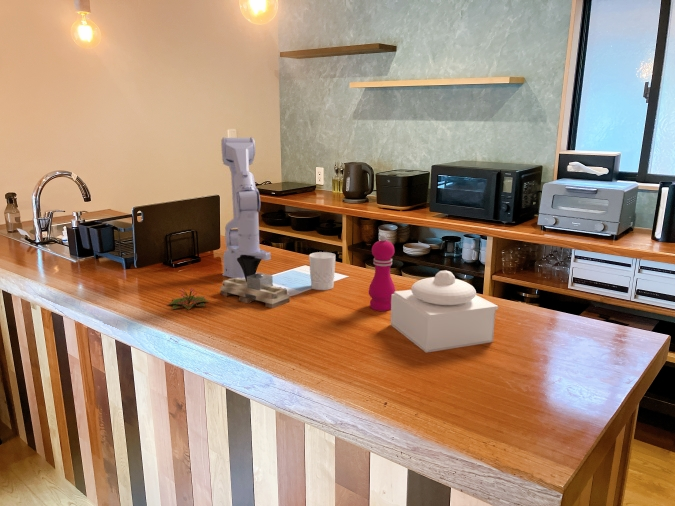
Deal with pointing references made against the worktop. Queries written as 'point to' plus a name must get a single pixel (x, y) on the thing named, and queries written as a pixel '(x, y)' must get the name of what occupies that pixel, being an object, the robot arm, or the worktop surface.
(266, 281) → the block
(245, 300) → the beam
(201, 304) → the green leafy spiky piece
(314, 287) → the white cup
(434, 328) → the butter dish
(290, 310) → the worktop surface
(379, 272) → the pepper mill
